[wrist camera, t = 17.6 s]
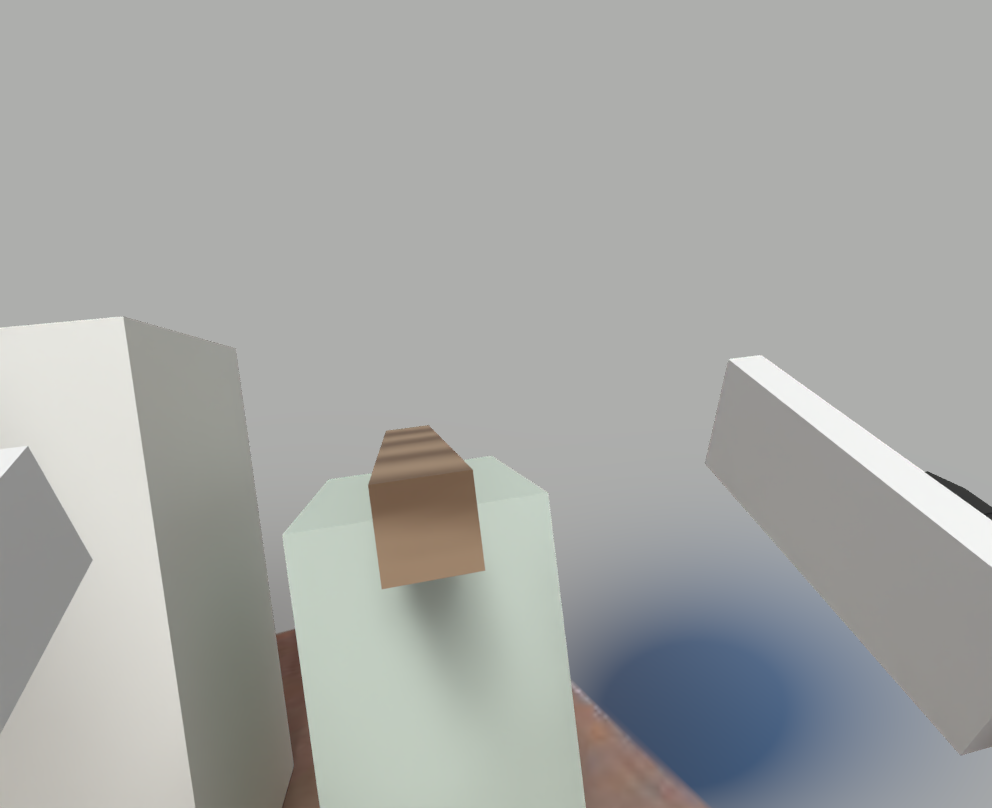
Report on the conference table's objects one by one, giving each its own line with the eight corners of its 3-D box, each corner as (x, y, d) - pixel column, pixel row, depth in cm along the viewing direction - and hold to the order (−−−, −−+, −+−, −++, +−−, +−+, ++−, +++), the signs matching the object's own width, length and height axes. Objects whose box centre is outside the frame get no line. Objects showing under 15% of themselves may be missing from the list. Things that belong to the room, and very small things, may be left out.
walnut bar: (485, 570, 16) (472, 469, 16) (381, 589, 16) (367, 484, 16) (433, 466, 40) (428, 425, 40) (391, 472, 39) (386, 430, 39)
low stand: (596, 899, 27) (548, 492, 26) (342, 974, 25) (282, 535, 24) (523, 713, 43) (492, 455, 42) (364, 749, 41) (328, 479, 40)
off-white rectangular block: (224, 1009, 24) (123, 316, 23) (-97, 1102, 22) (-226, 348, 21) (293, 765, 40) (235, 348, 39) (110, 807, 38) (43, 368, 37)
